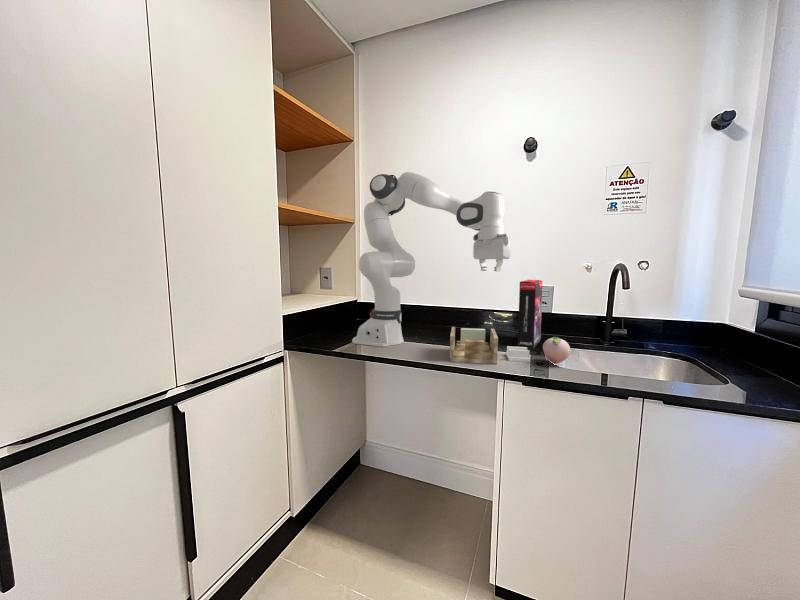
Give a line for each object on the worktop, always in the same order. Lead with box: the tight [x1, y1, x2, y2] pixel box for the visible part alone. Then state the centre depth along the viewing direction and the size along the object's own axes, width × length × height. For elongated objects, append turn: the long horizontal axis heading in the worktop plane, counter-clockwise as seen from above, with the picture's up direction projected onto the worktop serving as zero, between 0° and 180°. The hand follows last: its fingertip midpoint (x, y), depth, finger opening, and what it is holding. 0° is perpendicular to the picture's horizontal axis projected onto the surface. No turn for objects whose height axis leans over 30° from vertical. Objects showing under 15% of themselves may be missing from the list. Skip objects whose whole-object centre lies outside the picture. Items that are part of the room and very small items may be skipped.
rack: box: [449, 326, 499, 365], centre depth 121 cm, size 16×16×9 cm
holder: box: [505, 345, 531, 363], centre depth 119 cm, size 7×8×4 cm
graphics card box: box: [517, 279, 543, 349], centre depth 139 cm, size 17×7×27 cm, turn 149°
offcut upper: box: [465, 339, 484, 351], centre depth 116 cm, size 6×4×3 cm, turn 85°
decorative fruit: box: [542, 335, 571, 365], centre depth 113 cm, size 9×8×10 cm
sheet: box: [460, 327, 486, 345], centre depth 126 cm, size 9×2×8 cm, turn 82°
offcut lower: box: [464, 348, 482, 359], centre depth 116 cm, size 6×4×3 cm, turn 79°
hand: (490, 271), depth 129 cm, fingers open, 8 cm apart
